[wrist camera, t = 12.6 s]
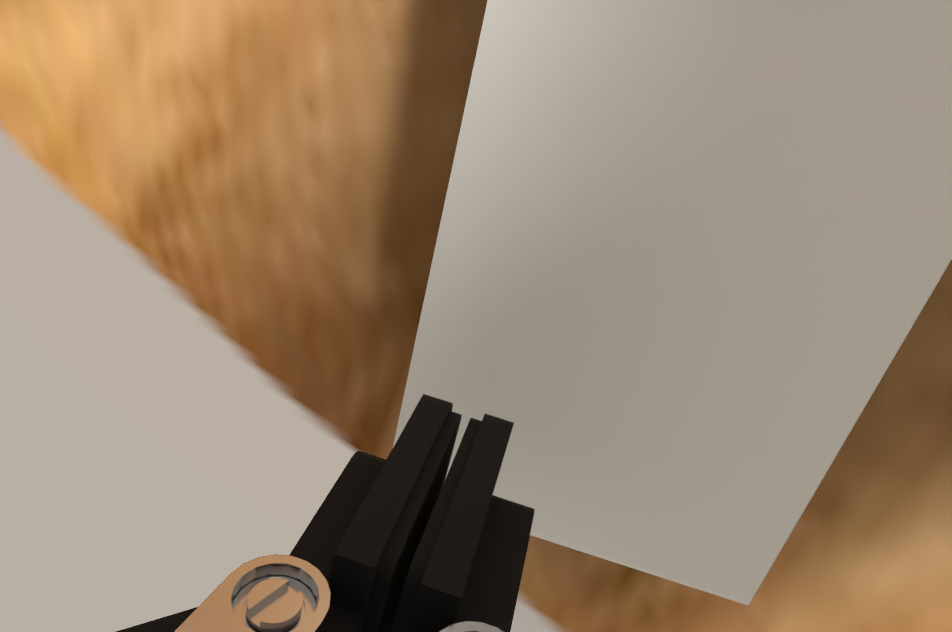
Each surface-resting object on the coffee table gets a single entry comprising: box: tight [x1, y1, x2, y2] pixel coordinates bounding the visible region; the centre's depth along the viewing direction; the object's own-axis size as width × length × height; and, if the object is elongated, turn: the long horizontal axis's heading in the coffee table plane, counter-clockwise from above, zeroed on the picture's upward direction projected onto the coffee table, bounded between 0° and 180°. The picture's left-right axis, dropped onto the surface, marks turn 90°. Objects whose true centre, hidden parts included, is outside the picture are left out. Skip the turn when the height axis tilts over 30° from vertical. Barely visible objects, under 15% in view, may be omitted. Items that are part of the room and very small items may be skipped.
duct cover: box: [392, 0, 952, 605], centre depth 12 cm, size 18×8×1 cm, turn 167°
